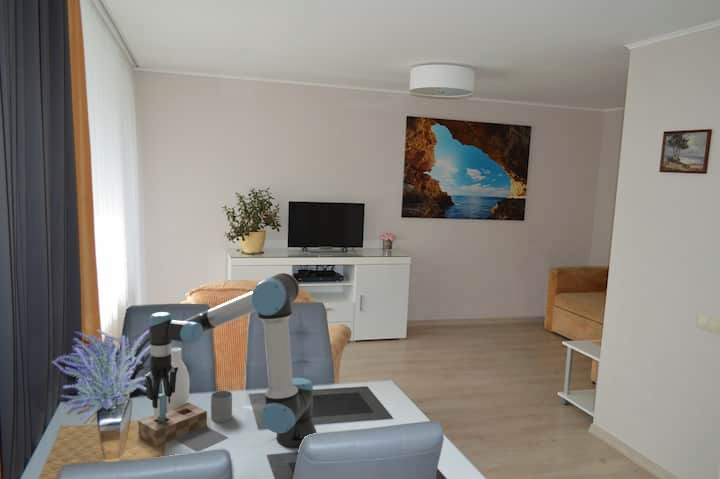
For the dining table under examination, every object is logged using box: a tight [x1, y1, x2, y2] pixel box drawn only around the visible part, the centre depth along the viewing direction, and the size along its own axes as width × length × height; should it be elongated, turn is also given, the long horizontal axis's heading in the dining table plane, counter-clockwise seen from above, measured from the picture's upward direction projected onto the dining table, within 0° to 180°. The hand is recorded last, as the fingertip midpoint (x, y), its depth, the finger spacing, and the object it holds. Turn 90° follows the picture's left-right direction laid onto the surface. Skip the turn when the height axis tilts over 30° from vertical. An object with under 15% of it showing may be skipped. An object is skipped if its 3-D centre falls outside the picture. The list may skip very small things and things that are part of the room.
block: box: [137, 402, 208, 446], centre depth 209 cm, size 12×22×6 cm, turn 142°
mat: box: [174, 426, 229, 452], centre depth 203 cm, size 14×14×1 cm
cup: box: [210, 390, 233, 423], centre depth 220 cm, size 8×8×10 cm
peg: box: [157, 393, 166, 424], centre depth 204 cm, size 3×3×12 cm
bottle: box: [161, 347, 191, 410], centre depth 229 cm, size 11×11×25 cm
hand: (161, 413), depth 204 cm, fingers closed on peg, 3 cm apart
